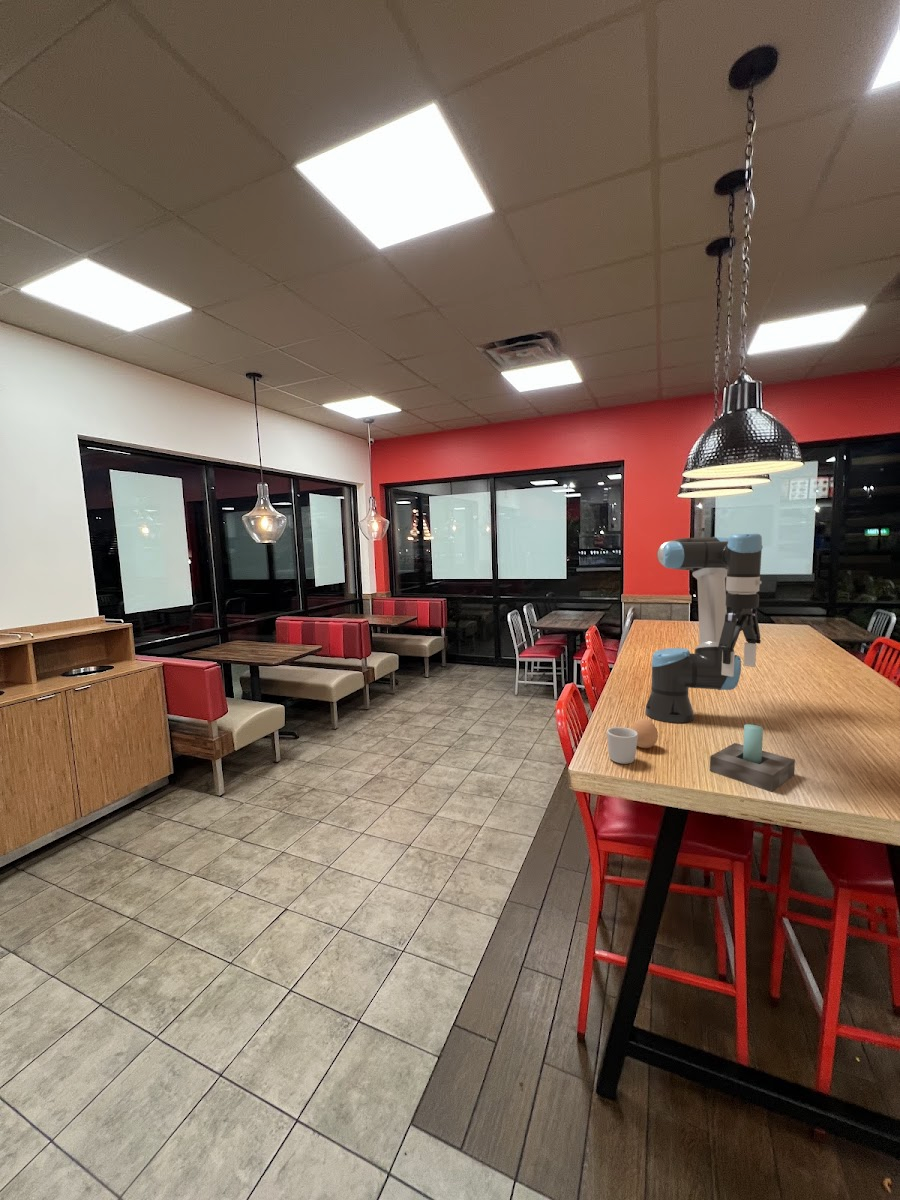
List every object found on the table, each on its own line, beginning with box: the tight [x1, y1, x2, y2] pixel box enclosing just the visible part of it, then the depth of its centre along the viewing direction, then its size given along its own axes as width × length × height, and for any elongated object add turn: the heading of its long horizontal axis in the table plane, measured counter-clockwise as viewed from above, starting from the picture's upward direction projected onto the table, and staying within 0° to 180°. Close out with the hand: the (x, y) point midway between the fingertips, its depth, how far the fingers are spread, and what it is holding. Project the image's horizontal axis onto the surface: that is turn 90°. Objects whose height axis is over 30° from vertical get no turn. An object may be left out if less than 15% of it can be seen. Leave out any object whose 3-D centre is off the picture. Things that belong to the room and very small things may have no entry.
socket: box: [709, 742, 796, 793], centre depth 120 cm, size 14×14×4 cm
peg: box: [742, 723, 764, 764], centre depth 120 cm, size 4×4×12 cm
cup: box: [606, 726, 638, 765], centre depth 130 cm, size 11×8×8 cm
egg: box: [630, 717, 659, 749], centre depth 137 cm, size 7×7×8 cm
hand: (738, 670), depth 128 cm, fingers open, 13 cm apart
